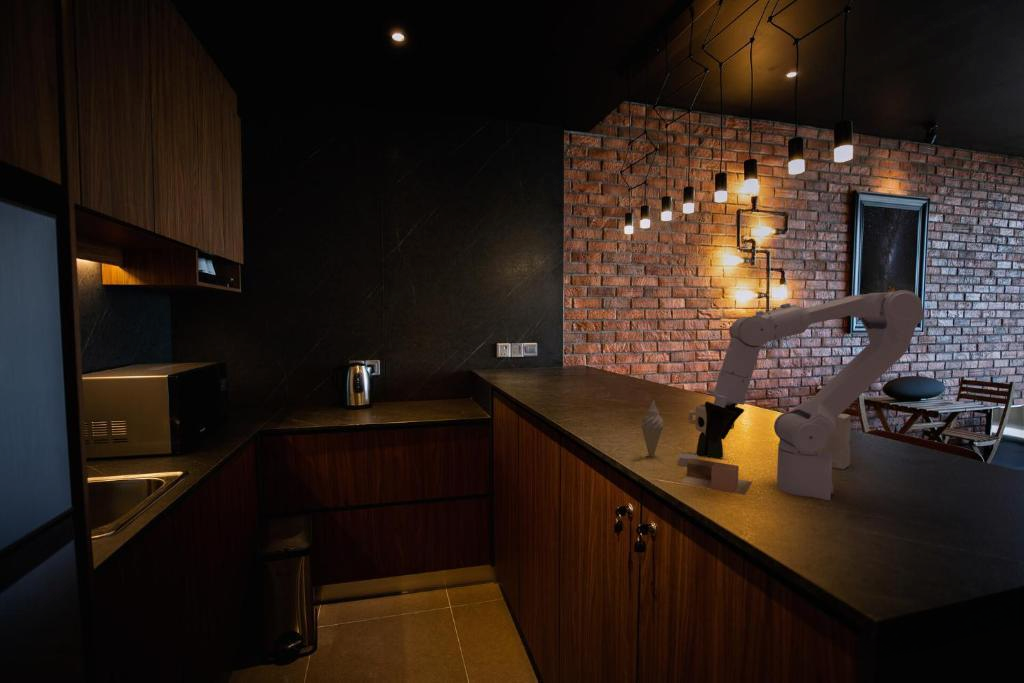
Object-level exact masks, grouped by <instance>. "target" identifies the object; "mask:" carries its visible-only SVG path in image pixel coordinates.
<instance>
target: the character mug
mask: <svg viewBox="0 0 1024 683" xmlns="http://www.w3.org/2000/svg"><path fill="white" fill-rule="evenodd" d="M693 415H695V419H693ZM687 420H688V423H689V424H692V425H694V426H695V430H696V431H698V432H699V433H700V434H699V435H698V441H697V445H696V451H695V452H696V454H695V455H698V457H702V458H703V457H704V456H705V457H706V456H707V458H709V459H716V460H721V459H722V458H723V457H724V448H723V439H720V438H719V440H718V441H717V443H714V442H712V441H709V440H706V439H705V433H706V422H707V416H706V409H705V403H698V404H697V403H696V406H695V410H689V411H688V419H687ZM734 429H735V423H734V424H733V425H732V427H731V429H730V430H734ZM705 457H704V458H705Z"/></svg>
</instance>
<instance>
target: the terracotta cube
mask: <svg viewBox="0 0 1024 683" xmlns="http://www.w3.org/2000/svg"><path fill="white" fill-rule="evenodd" d="M715 462H716V463H715V464H714V465H713V466H712V474H711V488H710V489H712V488H713V490H717V489H718V491H722V490H723V491H724V492H727V491H728V493H732V492H733V493H734V492H735V490H736V489H737V487H738V479H739V472H740V469H739V468H740V467H739V465H735V464H729V463H724V462H718V461H715ZM734 494H735V493H734Z"/></svg>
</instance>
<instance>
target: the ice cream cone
mask: <svg viewBox="0 0 1024 683" xmlns="http://www.w3.org/2000/svg"><path fill="white" fill-rule="evenodd" d="M646 413H647V414H646V415H644V416H643V418H642V425H641V429H642V434H643V437H644V438H643V439H644V442H645V445H646V449H647V453H648V457H650V458H654V457H655V453H656V450H657V447H658V445H659V444H658V443H659V441H660V437H661V434H662V431H663V429H664V428H663V427H664V419H663V418H662V417H661V416H660V414H659V409H658V407H657V405H656V403H655V400H654V399H652V401H651V403H650V406H649V407H648V410H647V411H646Z"/></svg>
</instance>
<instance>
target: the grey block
mask: <svg viewBox="0 0 1024 683" xmlns="http://www.w3.org/2000/svg"><path fill="white" fill-rule="evenodd" d="M692 458H694V459H699V456H698V455H696V454H692V453H691V454H690V453H679V456H678V462H679V463H678V465H679V467H686V468H687V463H688V462H689V461H690V460H691V459H692Z"/></svg>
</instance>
